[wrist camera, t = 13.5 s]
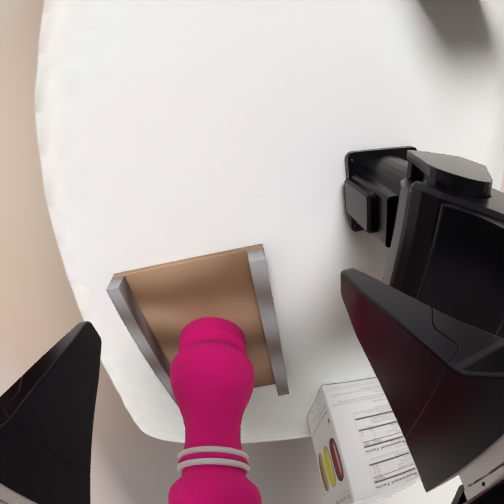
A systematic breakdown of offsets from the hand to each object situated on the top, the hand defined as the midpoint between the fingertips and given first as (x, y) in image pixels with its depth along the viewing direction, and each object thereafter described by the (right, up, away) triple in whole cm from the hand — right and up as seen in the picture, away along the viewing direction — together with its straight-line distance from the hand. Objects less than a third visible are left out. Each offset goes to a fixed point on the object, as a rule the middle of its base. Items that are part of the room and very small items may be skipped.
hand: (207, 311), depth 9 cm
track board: (-3, -6, +18) cm, 20 cm away
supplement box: (+14, -19, +27) cm, 36 cm away
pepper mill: (-2, -6, +18) cm, 19 cm away
